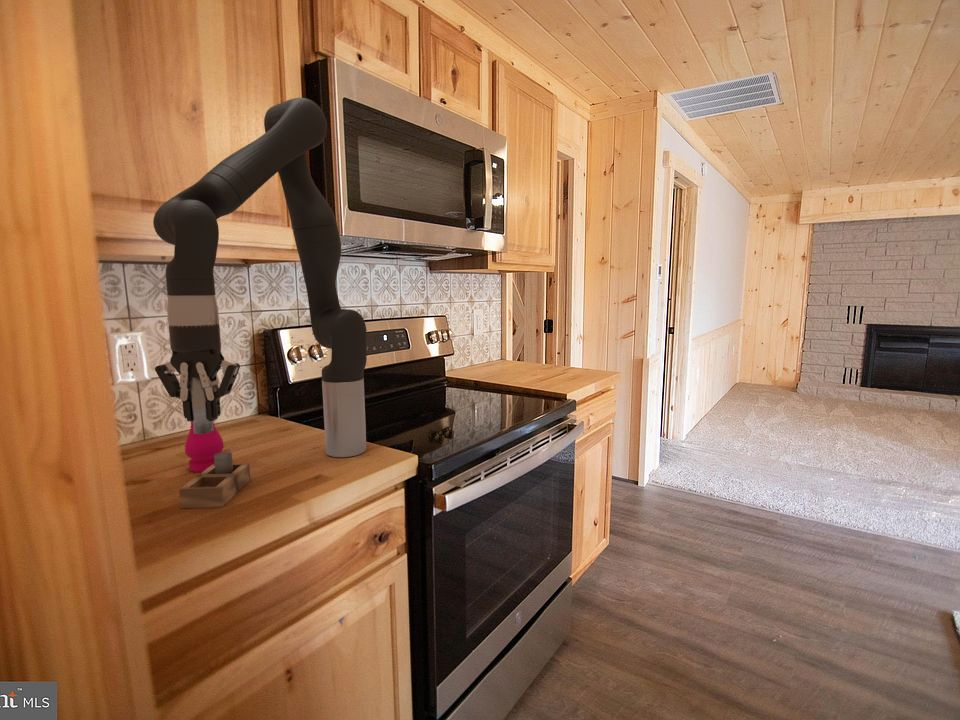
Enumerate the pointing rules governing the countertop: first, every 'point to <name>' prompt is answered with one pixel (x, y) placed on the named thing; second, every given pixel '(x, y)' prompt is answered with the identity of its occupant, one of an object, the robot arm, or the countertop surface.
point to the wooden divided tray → (215, 483)
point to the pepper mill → (202, 449)
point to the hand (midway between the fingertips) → (202, 419)
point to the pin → (199, 407)
